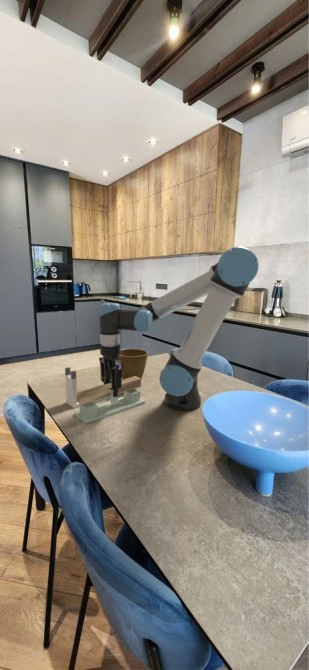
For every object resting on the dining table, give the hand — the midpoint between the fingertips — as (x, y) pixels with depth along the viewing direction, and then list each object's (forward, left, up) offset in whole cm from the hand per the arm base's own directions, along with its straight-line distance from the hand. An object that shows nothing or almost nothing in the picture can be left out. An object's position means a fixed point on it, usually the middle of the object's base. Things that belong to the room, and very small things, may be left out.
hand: (111, 401), depth 111 cm
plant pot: (+16, -22, -3) cm, 27 cm away
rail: (0, 0, +4) cm, 4 cm away
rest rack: (0, 0, -3) cm, 3 cm away
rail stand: (+13, 0, -3) cm, 13 cm away
